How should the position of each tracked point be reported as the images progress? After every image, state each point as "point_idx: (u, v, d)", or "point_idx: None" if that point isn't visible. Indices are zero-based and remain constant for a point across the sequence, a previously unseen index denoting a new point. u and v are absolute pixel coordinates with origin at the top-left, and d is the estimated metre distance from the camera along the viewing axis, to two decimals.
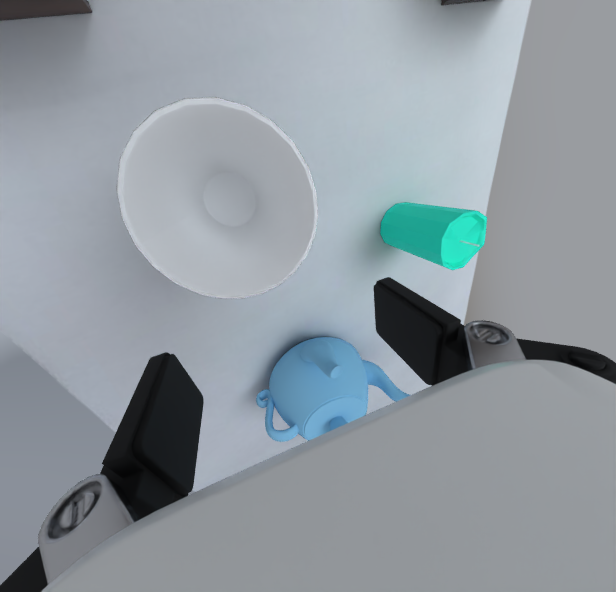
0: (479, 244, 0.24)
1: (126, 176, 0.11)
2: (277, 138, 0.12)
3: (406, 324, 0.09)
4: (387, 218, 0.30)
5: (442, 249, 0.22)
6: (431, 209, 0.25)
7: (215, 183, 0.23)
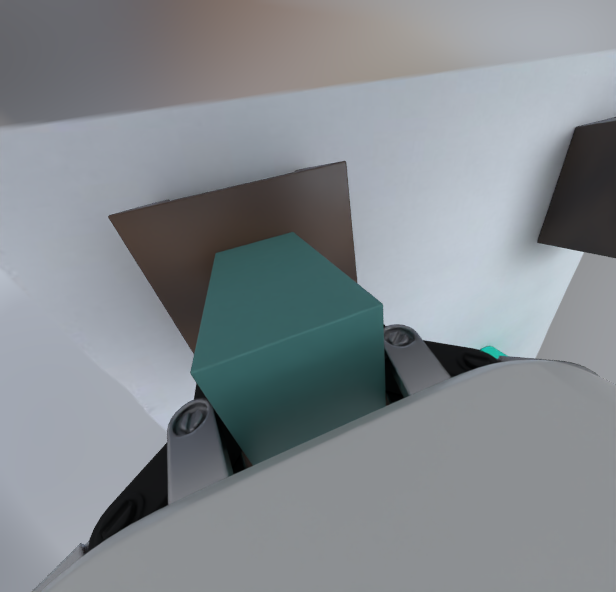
0: None
1: None
2: None
3: None
4: None
5: None
6: None
7: None
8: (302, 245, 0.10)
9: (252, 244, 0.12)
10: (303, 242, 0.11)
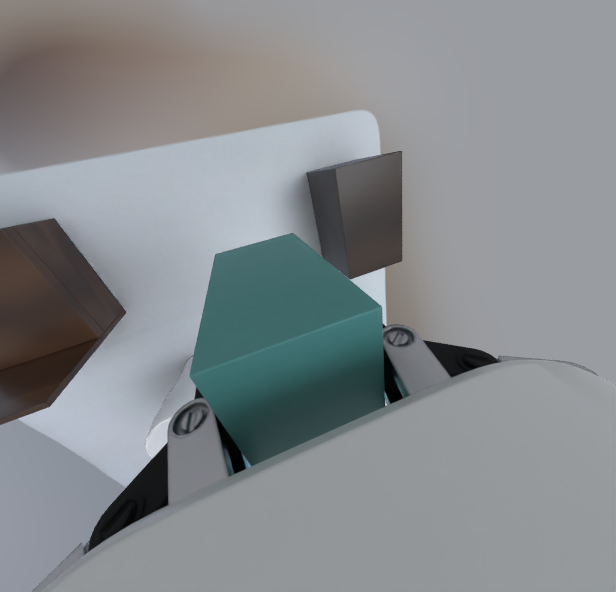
0: None
1: (149, 440, 0.26)
2: None
3: None
4: None
5: None
6: None
7: None
8: (302, 246, 0.10)
9: (252, 245, 0.12)
10: (303, 243, 0.11)
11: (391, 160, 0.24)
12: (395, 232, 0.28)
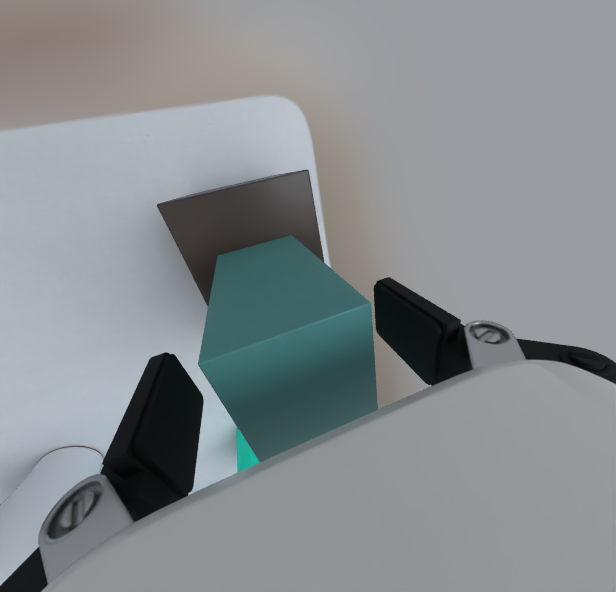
0: None
1: None
2: None
3: (406, 324, 0.09)
4: (238, 434, 0.33)
5: None
6: (249, 465, 0.28)
7: None
8: (300, 248, 0.11)
9: (252, 247, 0.13)
10: (301, 245, 0.11)
11: (289, 188, 0.12)
12: None
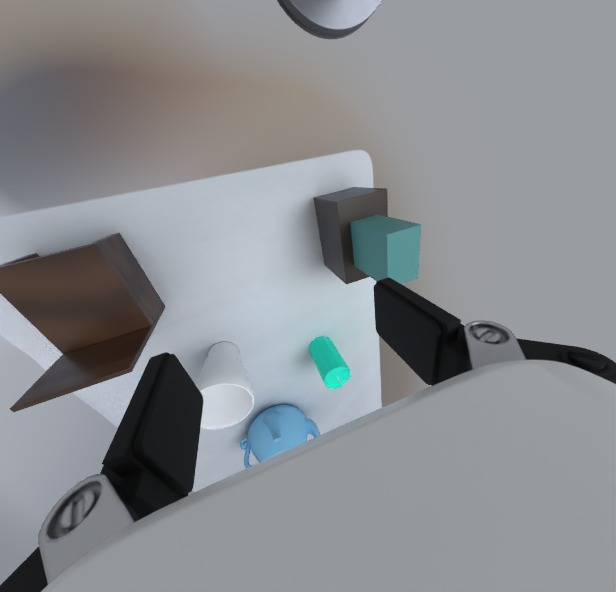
0: (348, 376, 0.47)
1: None
2: (236, 384, 0.35)
3: (406, 324, 0.09)
4: (311, 347, 0.53)
5: (325, 383, 0.46)
6: (326, 356, 0.48)
7: None
8: (387, 217, 0.31)
9: (364, 219, 0.32)
10: (387, 217, 0.31)
11: (379, 195, 0.32)
12: None
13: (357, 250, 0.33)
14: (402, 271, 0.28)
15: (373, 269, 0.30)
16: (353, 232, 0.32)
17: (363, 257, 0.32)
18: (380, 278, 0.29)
